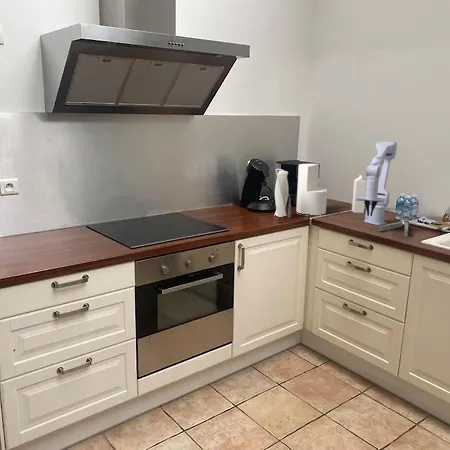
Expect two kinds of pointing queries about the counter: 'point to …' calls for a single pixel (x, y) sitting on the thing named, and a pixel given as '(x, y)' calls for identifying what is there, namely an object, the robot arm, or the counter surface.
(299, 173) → the white stepped block
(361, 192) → the milk
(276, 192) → the skyscraper
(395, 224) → the bar
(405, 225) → the arm
